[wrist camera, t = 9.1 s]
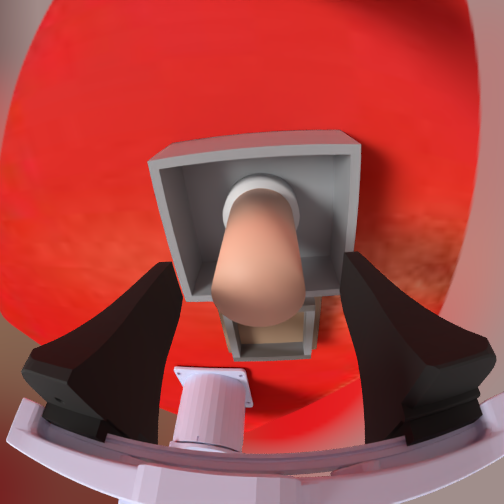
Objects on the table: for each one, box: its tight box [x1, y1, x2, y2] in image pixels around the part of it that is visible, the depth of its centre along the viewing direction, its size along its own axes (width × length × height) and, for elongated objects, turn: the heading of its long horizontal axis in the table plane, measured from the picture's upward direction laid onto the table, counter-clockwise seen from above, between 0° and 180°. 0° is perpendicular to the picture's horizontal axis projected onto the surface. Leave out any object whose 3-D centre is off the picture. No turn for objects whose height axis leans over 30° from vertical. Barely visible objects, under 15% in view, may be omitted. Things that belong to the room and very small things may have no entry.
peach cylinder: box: [211, 173, 306, 327], centre depth 14 cm, size 4×4×8 cm
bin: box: [148, 130, 361, 302], centre depth 16 cm, size 9×10×4 cm
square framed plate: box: [218, 296, 322, 361], centre depth 22 cm, size 8×8×2 cm
